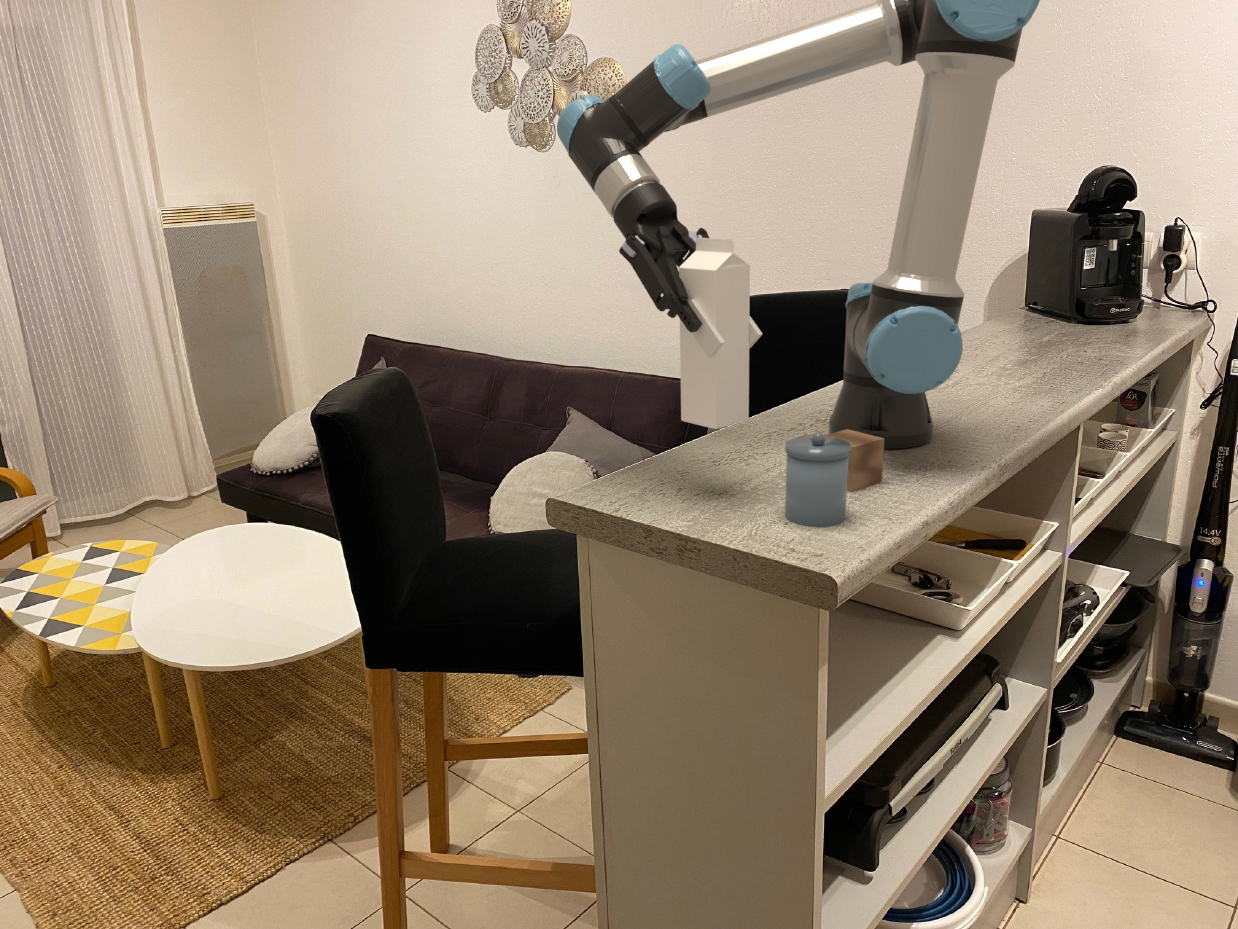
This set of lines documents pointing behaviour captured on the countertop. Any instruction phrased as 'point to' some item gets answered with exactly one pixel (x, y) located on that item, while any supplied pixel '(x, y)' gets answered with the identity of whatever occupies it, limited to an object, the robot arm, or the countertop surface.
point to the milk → (724, 296)
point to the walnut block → (862, 458)
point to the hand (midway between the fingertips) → (735, 345)
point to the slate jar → (816, 480)
